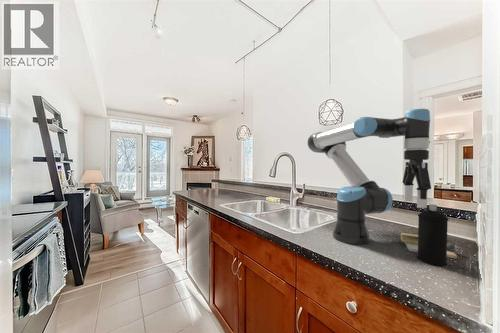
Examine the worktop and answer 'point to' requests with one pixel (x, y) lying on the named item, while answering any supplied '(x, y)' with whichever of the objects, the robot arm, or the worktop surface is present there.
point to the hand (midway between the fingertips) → (414, 204)
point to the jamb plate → (412, 246)
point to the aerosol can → (432, 237)
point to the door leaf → (451, 250)
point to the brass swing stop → (409, 238)
